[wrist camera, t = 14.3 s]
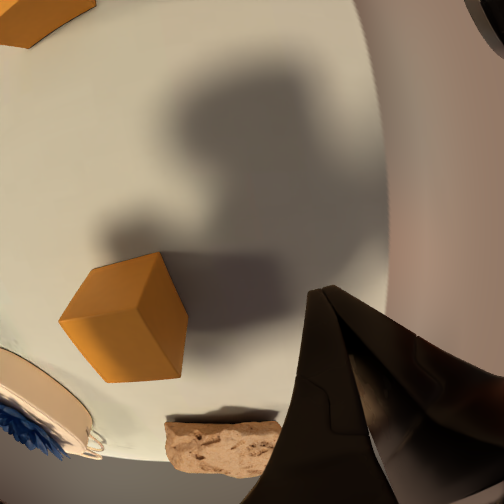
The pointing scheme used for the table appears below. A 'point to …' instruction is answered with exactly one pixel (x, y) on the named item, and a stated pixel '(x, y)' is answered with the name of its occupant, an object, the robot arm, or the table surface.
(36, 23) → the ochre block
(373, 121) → the table surface
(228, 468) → the stone
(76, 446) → the box with blue lotus
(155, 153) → the table surface
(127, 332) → the ochre block middle
